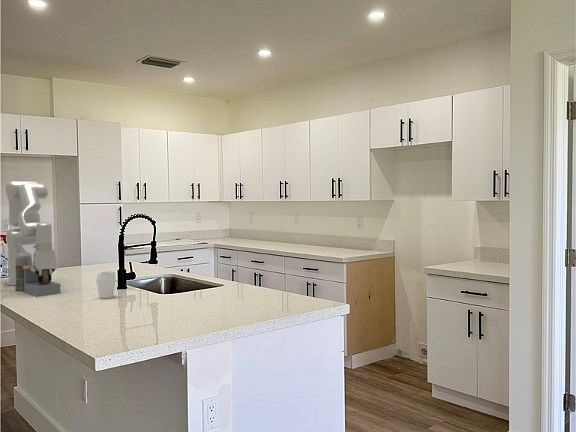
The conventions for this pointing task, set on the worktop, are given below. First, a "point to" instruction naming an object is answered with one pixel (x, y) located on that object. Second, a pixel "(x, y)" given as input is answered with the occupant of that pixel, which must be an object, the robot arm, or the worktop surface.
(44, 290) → the socket block
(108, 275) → the cup
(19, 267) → the spray can
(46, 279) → the peg
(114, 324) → the worktop surface
